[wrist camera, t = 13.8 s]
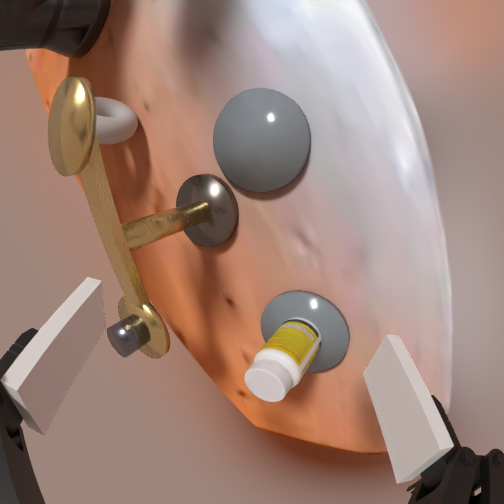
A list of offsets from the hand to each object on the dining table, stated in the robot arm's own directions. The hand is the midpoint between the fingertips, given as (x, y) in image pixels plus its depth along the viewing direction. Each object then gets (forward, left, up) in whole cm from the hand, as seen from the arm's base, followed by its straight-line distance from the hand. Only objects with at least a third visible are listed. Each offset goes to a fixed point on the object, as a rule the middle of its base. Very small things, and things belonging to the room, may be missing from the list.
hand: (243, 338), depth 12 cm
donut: (-29, +11, -16) cm, 35 cm away
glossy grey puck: (-9, +8, -16) cm, 20 cm away
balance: (-15, 0, -16) cm, 22 cm away
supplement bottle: (-2, -11, -16) cm, 19 cm away
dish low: (-2, -11, -16) cm, 20 cm away
